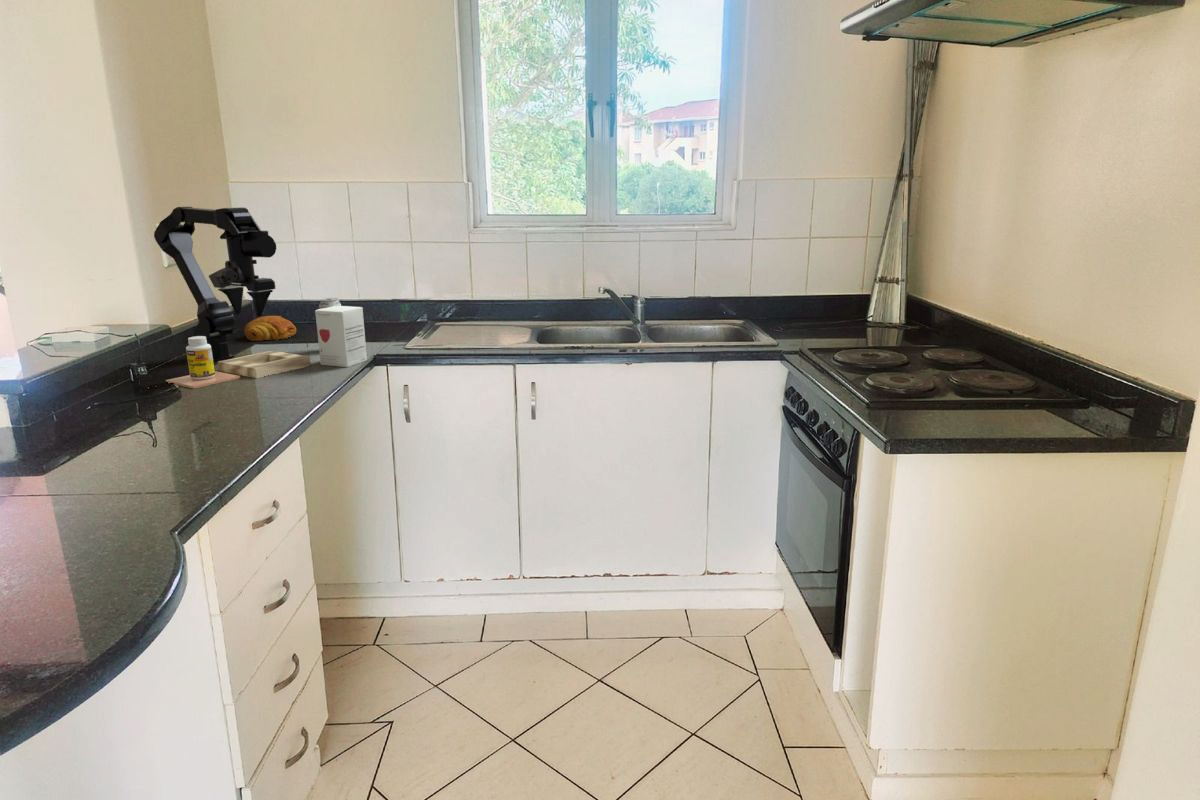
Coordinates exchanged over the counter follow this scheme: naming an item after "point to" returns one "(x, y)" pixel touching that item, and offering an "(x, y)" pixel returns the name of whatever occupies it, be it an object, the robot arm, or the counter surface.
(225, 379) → the terracotta tile
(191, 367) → the supplement bottle
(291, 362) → the board
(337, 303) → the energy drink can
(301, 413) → the counter surface
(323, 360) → the supplement box
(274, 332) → the croissant
